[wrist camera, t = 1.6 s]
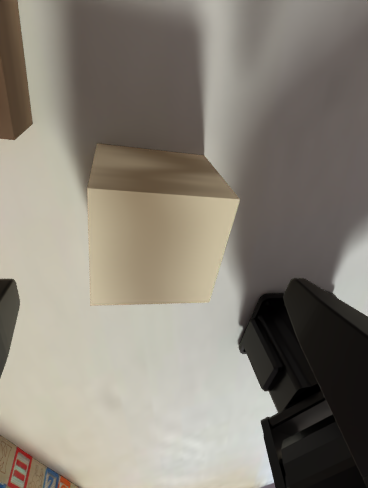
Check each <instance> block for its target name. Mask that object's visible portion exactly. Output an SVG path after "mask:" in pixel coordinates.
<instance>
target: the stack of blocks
mask: <svg viewBox="0 0 368 488" xmlns="http://www.w3.org/2000/svg"><path fill="white" fill-rule="evenodd" d="M0 488H79V487H77V486H76V485H74V484H72V483H70V482H69V481H68V480H67V479H65V478H64V477H62V476H61V475H58V474H57V473H55V472H54V471H52V470H51V469H49V468H48V467H46V466H44V465H43V464H41V463H40V462H38V461H37V460H35V459H34V458H32V456H30V455H29V454H27V453H25V452H24V451H23V450H21V449H19V448H18V447H16V446H15V445H14V444H12V443H11V442H9V441H8V440H6V439H5V438H3V437H2V436H0Z"/></svg>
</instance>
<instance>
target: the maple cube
mask: <svg viewBox="0 0 368 488" xmlns="http://www.w3.org/2000/svg"><path fill="white" fill-rule="evenodd" d="M87 198H88V235H89V272H90V306H97V305H132V304H168V303H204V302H209V301H210V298H211V295H212V291H213V288H214V285H215V281H216V278H217V275H218V271H219V268H220V265H221V261H222V258H223V255H224V251H225V248H226V245H227V242H228V238H229V235H230V232H231V228H232V225H233V222H234V218H235V215H236V212H237V208H238V205H239V202H240V199H239V198H238V196H237V195H236V194H235V193H234V191H233V190H232V189H231V188H230V186H229V185H228V184H227V183H226V182H225V180H224V179H223V178H222V177H221V175H220V174H219V173H218V172H217V171H216V169H215V168H214V167H213V166H212V164H211V163H210V162H209V161H208V159H207V158H206V157H205V156H204V155H196V154H187V153H178V152H169V151H160V150H152V149H143V148H134V147H125V146H116V145H107V144H99V143H97V145H96V150H95V155H94V159H93V164H92V169H91V173H90V178H89V182H88V187H87Z"/></svg>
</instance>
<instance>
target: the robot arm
mask: <svg viewBox="0 0 368 488" xmlns="http://www.w3.org/2000/svg"><path fill="white" fill-rule="evenodd" d="M19 306H20V299H19V294H18V290H17V285H16V282H15V280H14V279H0V377H1V375H2V372H3V369H4V366H5V363H6V360H7V357H8V354H9V350H10V346H11V341H12V337H13V333H14V328H15V324H16V320H17V315H18V311H19ZM239 350H240V352H241V353H242V354H247V356H248V358H249V360H250V363H251V365H252V367H253V370H254V372H255V374H256V377H257V379H258V381H259V384H260V386H261V388H262V389H263V390H264V391H269V393H270V395H271V398H272V400H273V402H274V404H275V407H276V409H277V411H278V413H277V414H275V415H273V416H272V417H266V418H265V419H263V420H261V425H262V429H263V433H264V441H265V445H266V449H267V453H268V458H269V462H270V466H271V470H272V475H273V479H274V483H275V487H276V488H368V316H366V315H364V314H363V313H361V312H359V311H358V310H356V309H354V308H353V307H351V306H349V305H348V304H346V303H344V302H343V301H341V300H339V299H338V298H337V297H336V296H335V295H334V294H333V293H328V292H326V291H324V290H323V289H321V288H319V287H318V286H316V285H314V284H313V283H311V282H309V281H308V280H306V279H304V278H293V279H292V280H291V281H290V283H289V285H288V287H287V289H286V291H285V293H284V294H266V295H263V296H262V297H260V299H259V301H258V303H257V306H256V308H255V310H254V313H253V315H252V317H251V319H250V322H249V324H248V326H247V329H246V331H245V333H244V336H243V338H242V340H241V343H240V345H239Z"/></svg>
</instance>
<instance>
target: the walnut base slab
mask: <svg viewBox="0 0 368 488" xmlns="http://www.w3.org/2000/svg"><path fill="white" fill-rule="evenodd" d="M32 124H33V123H32V115H31V107H30V98H29V90H28V82H27V74H26V66H25V58H24V50H23V42H22V34H21V26H20V18H19V10H18V2H17V0H0V139H9V140H15V139H16V138H17V137H18V136H20V135H21V134H22V133H23V132H24V131H25V130H26V129H27V128H29V127H30V126H31V125H32Z"/></svg>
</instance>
